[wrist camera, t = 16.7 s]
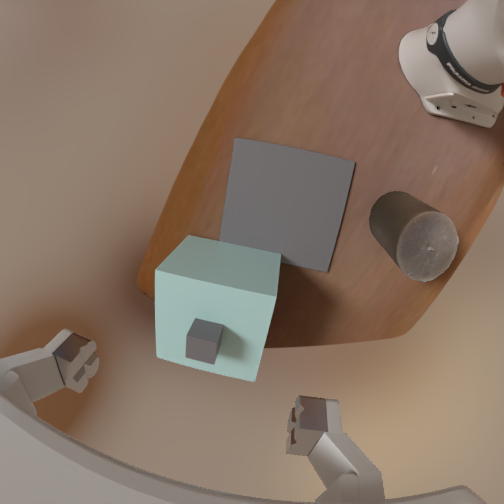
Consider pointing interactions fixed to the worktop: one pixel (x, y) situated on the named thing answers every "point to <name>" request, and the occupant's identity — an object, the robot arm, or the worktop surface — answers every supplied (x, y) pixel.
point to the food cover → (215, 306)
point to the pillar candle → (414, 235)
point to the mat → (285, 202)
